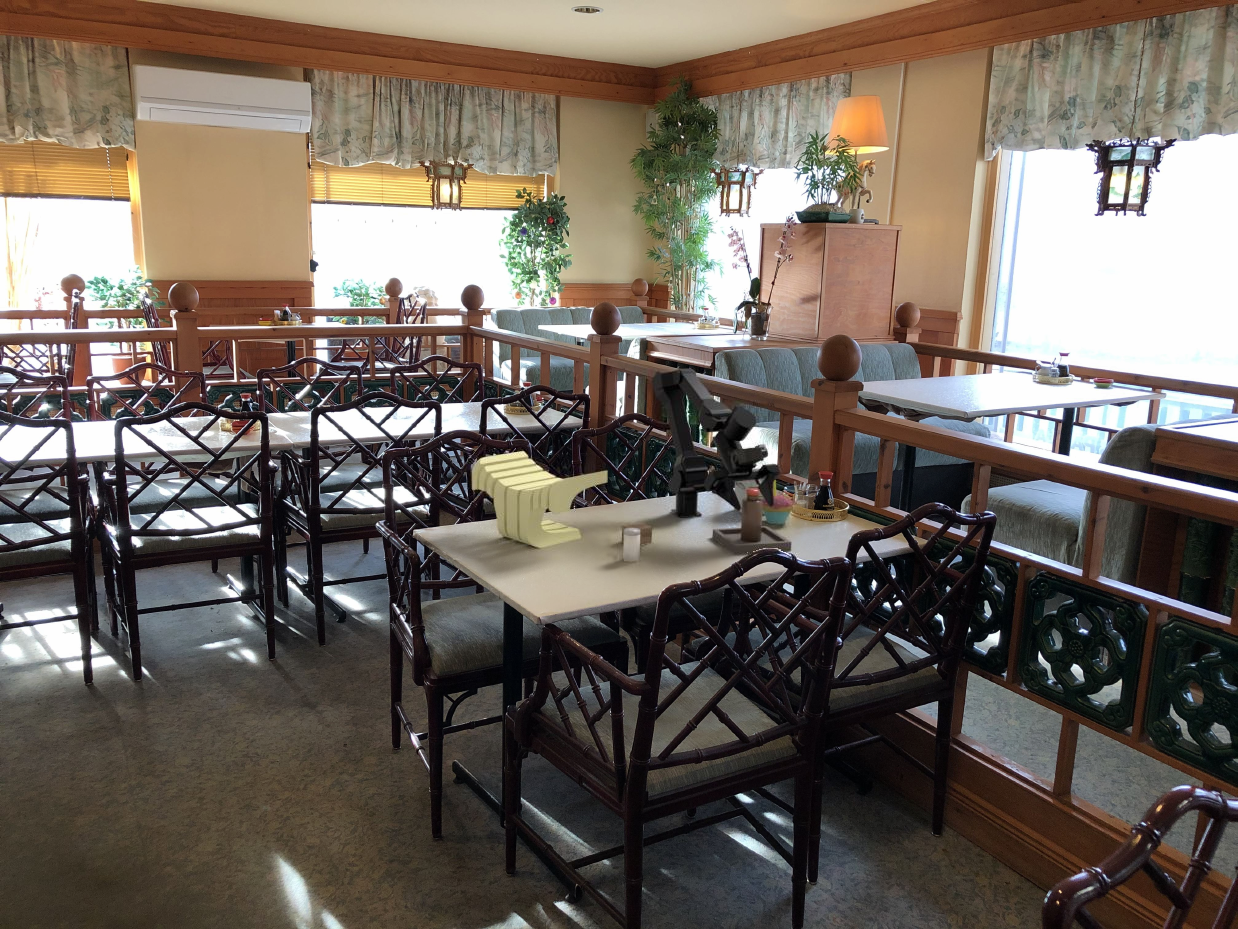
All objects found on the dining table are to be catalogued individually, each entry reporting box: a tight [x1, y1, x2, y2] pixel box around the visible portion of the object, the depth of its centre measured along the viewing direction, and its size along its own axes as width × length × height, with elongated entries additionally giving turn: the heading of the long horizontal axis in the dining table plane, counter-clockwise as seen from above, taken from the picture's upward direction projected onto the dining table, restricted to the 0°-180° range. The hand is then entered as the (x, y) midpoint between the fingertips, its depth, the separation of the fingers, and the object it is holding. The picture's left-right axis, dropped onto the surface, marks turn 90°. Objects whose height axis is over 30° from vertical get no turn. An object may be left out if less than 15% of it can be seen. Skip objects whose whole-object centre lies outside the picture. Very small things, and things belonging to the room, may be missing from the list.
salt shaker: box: [622, 528, 641, 563], centre depth 214 cm, size 4×4×7 cm
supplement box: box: [733, 462, 765, 515], centre depth 256 cm, size 7×7×13 cm
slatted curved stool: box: [471, 450, 608, 549], centre depth 228 cm, size 30×16×18 cm, turn 45°
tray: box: [712, 525, 792, 555], centre depth 228 cm, size 14×14×2 cm
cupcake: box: [762, 479, 794, 525], centre depth 247 cm, size 9×8×12 cm
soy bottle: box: [740, 488, 763, 542], centre depth 227 cm, size 5×5×12 cm
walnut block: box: [621, 521, 653, 546], centre depth 228 cm, size 5×5×4 cm
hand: (756, 507), depth 225 cm, fingers open, 9 cm apart
